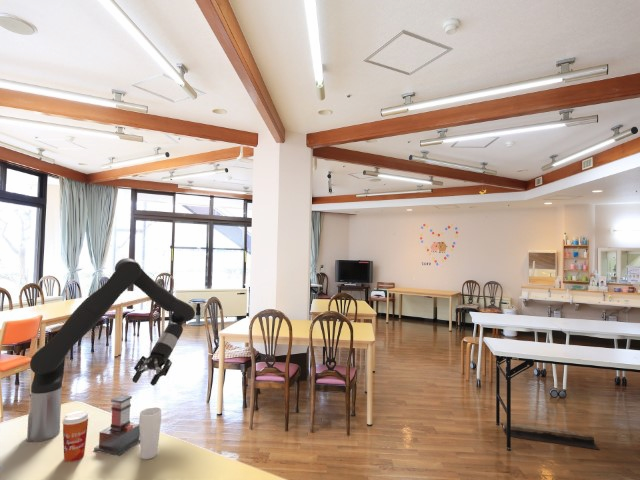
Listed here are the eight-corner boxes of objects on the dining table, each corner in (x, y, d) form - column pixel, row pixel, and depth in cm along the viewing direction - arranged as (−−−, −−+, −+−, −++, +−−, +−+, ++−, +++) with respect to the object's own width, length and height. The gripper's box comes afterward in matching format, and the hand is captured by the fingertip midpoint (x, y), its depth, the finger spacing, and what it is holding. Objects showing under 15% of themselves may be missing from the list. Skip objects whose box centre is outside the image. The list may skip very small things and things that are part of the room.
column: (119, 448, 123) (121, 401, 123) (109, 446, 124) (111, 399, 124) (129, 441, 127) (131, 396, 128) (119, 439, 128) (121, 394, 129)
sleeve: (119, 456, 119) (119, 434, 119) (94, 450, 122) (94, 429, 122) (143, 439, 129) (144, 420, 129) (120, 434, 132) (120, 415, 132)
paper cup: (57, 466, 112) (60, 422, 113) (62, 454, 119) (64, 412, 120) (86, 460, 116) (88, 417, 117) (89, 448, 123) (91, 408, 123)
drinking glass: (151, 462, 115) (152, 416, 116) (133, 460, 117) (135, 414, 117) (164, 451, 122) (165, 408, 122) (147, 449, 123) (148, 406, 124)
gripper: (146, 340, 147) (123, 376, 135) (174, 343, 143) (153, 381, 131) (155, 349, 152) (133, 385, 140) (182, 352, 148) (162, 390, 136)
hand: (142, 383), depth 136 cm, fingers open, 8 cm apart
